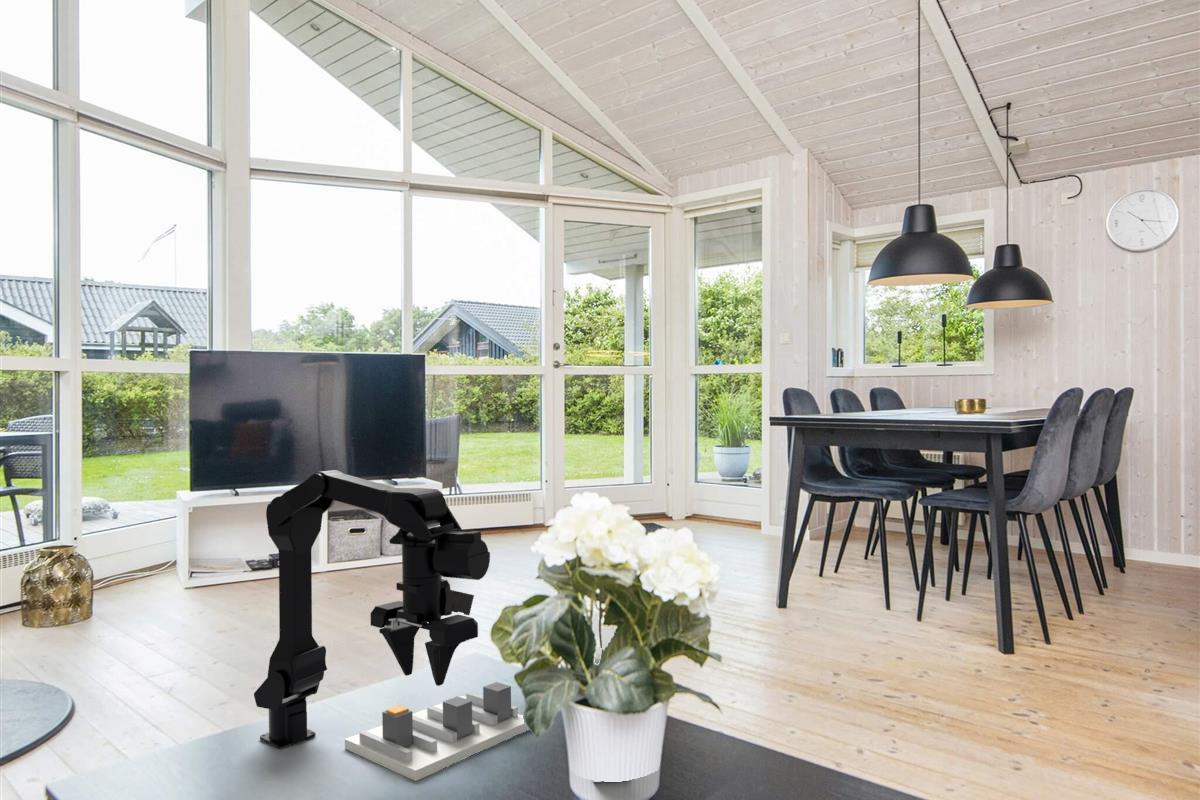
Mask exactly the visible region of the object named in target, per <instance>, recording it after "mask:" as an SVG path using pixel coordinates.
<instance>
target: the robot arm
mask: <svg viewBox="0 0 1200 800" xmlns="http://www.w3.org/2000/svg"><path fill="white" fill-rule="evenodd" d="M335 502H339V503H342V504H347V505H350V506H354V507H356V508H359V509H362V510H363V509H364V510H366V511H370V512H374V513H377V514H379V515H381V516H383V517H384V518H385V519H386V521H387V522H388V523H389V524H390V525H393V526H394V527H396V528H399V529H398V531H397V532H396V533H395V534H394V535H393V536H391V538H390V539H389V544H390V545H401V558H402V559H401V564H402V565H401V567H402V570H401V571H402V572H401V573H402V575H401V576H402V580H401V581H399V582H396V585H395V586H396V591H401V592H402V600H398V601H397V600H395V601H392V602H387V603H384V604H380V605H376V606H374V608H373V609H372V611H371V612H370V626H371V627H375V628H379V629H378V630H379V634H381V635H382V636H383V637H384V639H385V642H386V643H387V644H388V646H389V648H390V650H391V651H392V653H393V655H394V657H395V659H396V661H397V663H398V664H399V667H400V669H401V670H402V673H403V675H404V676H406V677H407V676H410V675H412V673H413V667H414V658H415V657H414V652H415V637H416V635H417V633H418V631H419V630H420V629H423V630H426V631H429V633H428V634H429V638H430V640H429V641H425V642H424V646H425V651H426V655H427V658H428V662H429V666H430V669H431V673H432V678H433V680H434V684H435V685H436V686H437V687H440V686H442V685H443V684H444V682H445V680H446V676H447V674H448V670H449V667H450V664H451V662H452V658H453V657H454V653H455V651H456V649H457V648H458V647H459V645H460V644H461V643H464V642H467V641H469V640H470V641H471V640H472V639H476V638H478V637H479V623H478V621H476V619H475V618H474V617H472V616H471V617H470V614H471V610H472V606H473V601H474V597H475V595H474V594H470V593H467V592H461V591H456V590H453V589H451V585H450V582H449V581H448V580H449V579H445V578H451V579H463V580H473V581H479V580H482V578H484V577H485V576H486V574H487V573H488V569H489V568H490V562H491V552H490V551H489V549H488V546H487V543H486V542H485V541H484V540H482V532H481V531H477V530H475V531H474V530H473V531H463V529H462V527H461V525H460V524H459V522H458V521H457V519H456V518H455V516H454V515H453V512H452V511H451V509H450V508H449V506H448V505H447V501H446V499H445V497H444V494H443V492H441V491H440V490H438V489H435V488H428V487H427V488H425V487H424V488H423V487H408V488H407V487H395V486H391V485H386V484H383V483H380V482H377V481H372V480H369V479H365V478H361V477H357V476H354V475H349V474H346V473H344V472H342V471H340V470H337V469H332V470H323V471H316V472H314V473H313V474H312V475H310V476H309V477H307V479H306V480H305V481H303V482H302V483H299V484H297V485H295V486H294V487H292V488H290V489H288V490H287V491H285V492H284V493H283V494H281V495H280V496H276V497H274V498H273V499H272V500H271V501H270V503H268V504H267V506H266V511H265V514H266V515H265V516H266V524H267V530H268V536H269V537H270V539H271V541H272V542H273V544H274V546H275V547H276V548H277V550H278V604H279V605H278V609H279V610H278V611H279V613H278V615H279V616H278V617H279V618H278V619H279V625H278V626H279V634H278V635H279V638H278V641H277V643H276V645H275V648H274V649H273V651H272V653H271V655H270V657H269V663H268V670H267V677H266V679H265V680H264V681H263V682H262V683H261V685H260V686H259V687H258V688H256V690H255V692H254V693H253V697H254V700H255V702H254V703H255V705H256V707H257V708H263V709H267V710H268V732H267V733H263V734H261V735H259V739H260V740H261V741H263V742H265V743H267V744H270V745H271V746H273V747H275V748H276V749H282V748H286V747H289V746H291V745H295V744H297V743H299V742H303V741H305V740H308V739H311V738H314V737H316V735H317V734H316V731H313V730H311V729H309V728H308V713H307V712H308V711H307V708H308V707H307V704H308V703H307V697H310V696H312V695H315V694H317V693H318V690H319V687H320V683H321V681H323V679H324V676H325V672H326V671H328V667H327V664H326V655H327V649H326V646H325V645H319V644H318V643H317V641H316V639H315V638H314V636H313V610H312V609H313V607H312V606H313V602H312V601H313V598H312V597H313V596H312V595H313V591H312V588H313V587H312V585H313V583H312V580H313V579H312V576H313V575H312V574H313V573H312V572H313V571H312V570H313V569H312V567H313V566H312V548H313V546H314V544H315V542H316V540H317V538H318V536H319V534H320V532H321V531H322V521H323V514H325V513H326V512H327V511H328V510H329V509H331V508H332V507H333V505H334V504H335ZM442 577H443V578H444V579H443V578H442ZM452 612H453V613H461V614H455V615H453V613H452ZM462 614H463V615H462ZM450 615H451V616H450ZM443 616H444V618H443Z"/></svg>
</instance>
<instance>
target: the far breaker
mask: <svg viewBox="0 0 1200 800" xmlns="http://www.w3.org/2000/svg"><path fill="white" fill-rule="evenodd" d="M482 689H483V692H482V694H483V695H482V696H483V707H484V711H486V712H489V713H492V714H494V715H497V716H498V722H499V721H502V720H504V719H506V718H509V717H511V705H512V686H511V685H507V684H505V683H501V682H498V681H495V682H492V683H491V684H487V685H485V686H483V687H482Z"/></svg>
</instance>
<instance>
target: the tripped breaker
mask: <svg viewBox="0 0 1200 800" xmlns="http://www.w3.org/2000/svg"><path fill="white" fill-rule="evenodd" d="M381 713H382V717H381V718H382V722H381V724H382V725H383V738H384V739H386V740H388V741H391V742H393V743H395V744H398V745H400V746H402V747H407V746H409V745H412V744H413V719H412V714H413V711H412V710H409V708H408V707H406V706H404V705H403V706H402V705H399V704H398V705H395V706H392V707H390V708H387V709H385V711H382V712H381Z"/></svg>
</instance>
